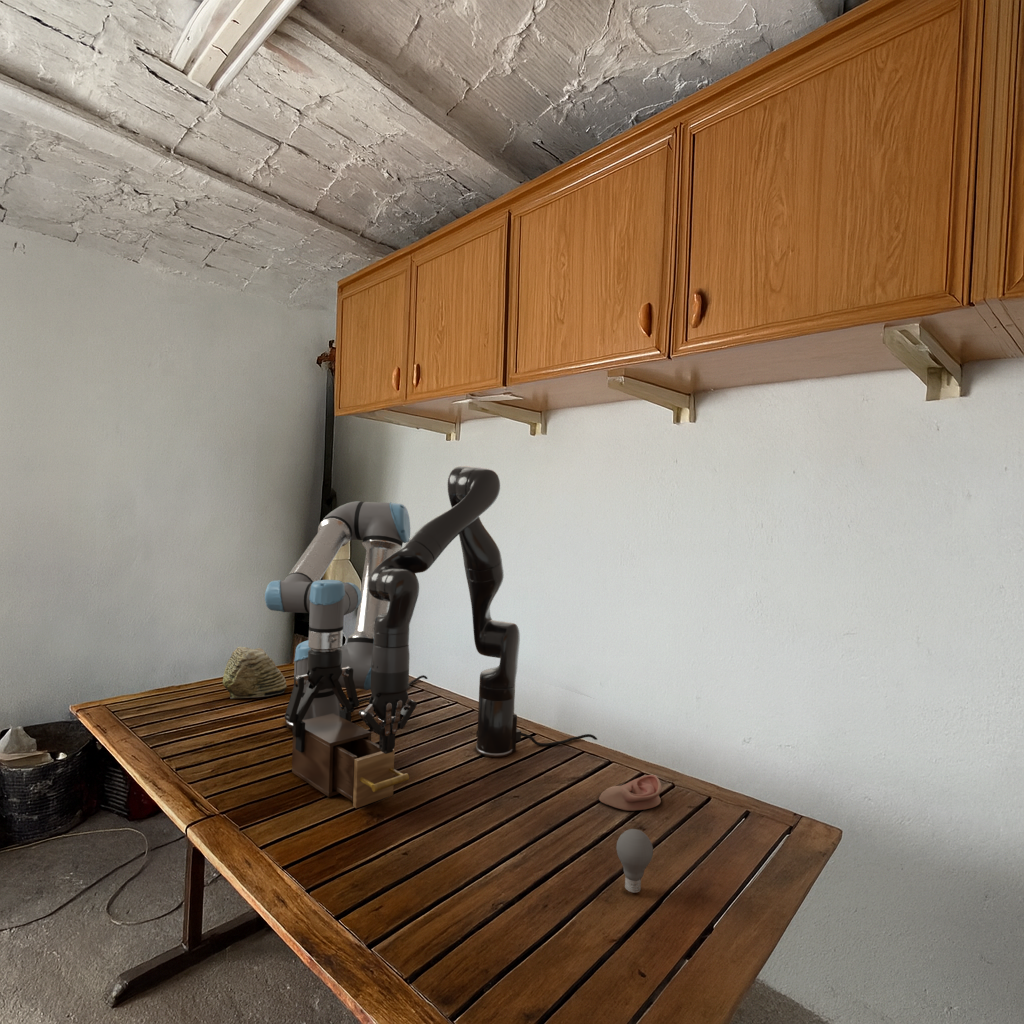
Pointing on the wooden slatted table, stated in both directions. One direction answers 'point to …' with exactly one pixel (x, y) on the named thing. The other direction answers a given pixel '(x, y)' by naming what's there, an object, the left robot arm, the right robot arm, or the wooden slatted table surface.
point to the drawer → (364, 772)
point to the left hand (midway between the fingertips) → (322, 744)
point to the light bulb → (634, 857)
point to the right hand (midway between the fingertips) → (386, 751)
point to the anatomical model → (634, 794)
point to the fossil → (252, 674)
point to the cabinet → (323, 749)
